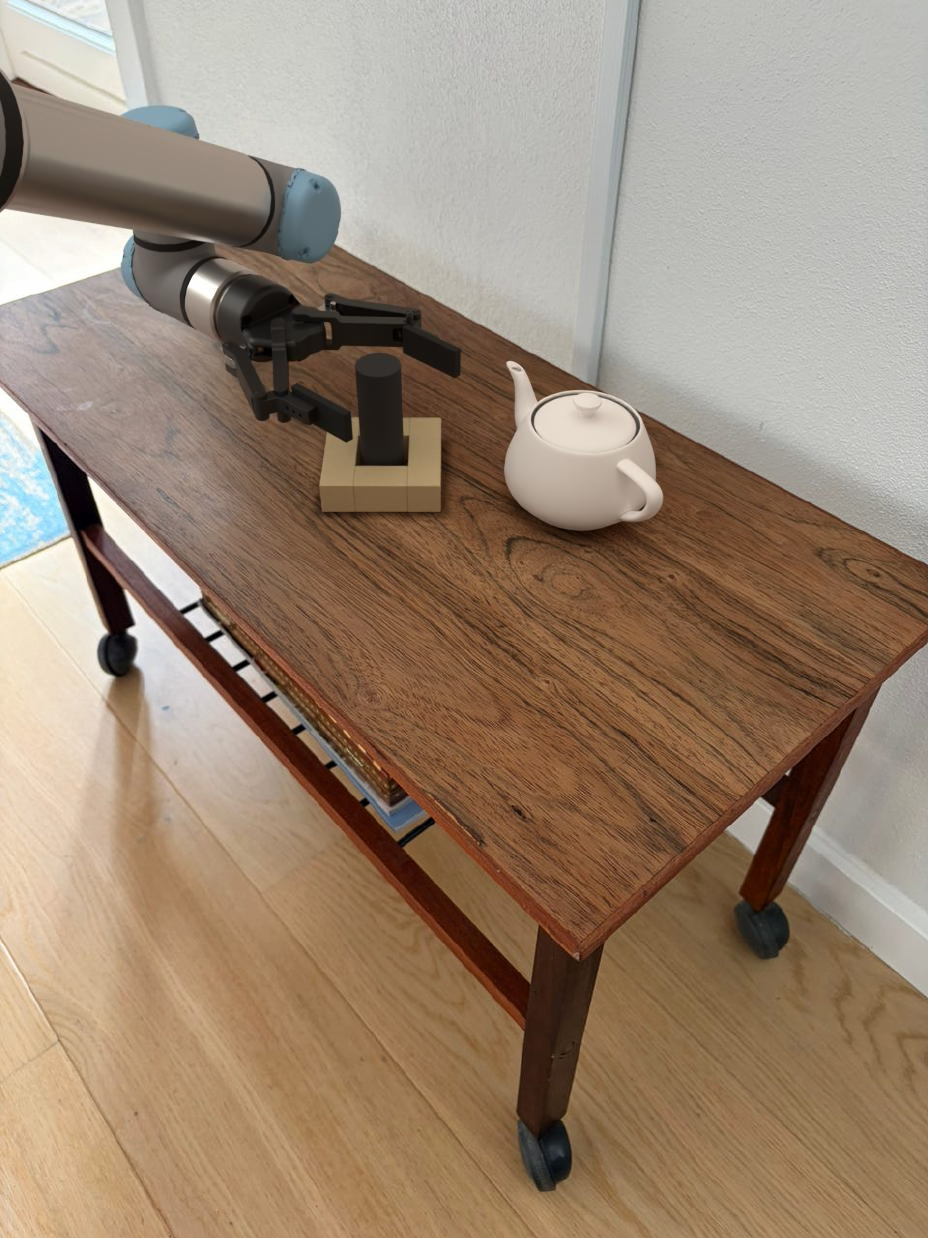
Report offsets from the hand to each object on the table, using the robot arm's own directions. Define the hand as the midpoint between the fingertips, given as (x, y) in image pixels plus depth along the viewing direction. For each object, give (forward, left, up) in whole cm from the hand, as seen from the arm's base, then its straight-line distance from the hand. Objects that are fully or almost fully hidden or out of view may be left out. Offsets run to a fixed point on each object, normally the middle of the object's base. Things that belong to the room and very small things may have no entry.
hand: (406, 394), depth 88 cm
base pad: (-2, +2, -10) cm, 11 cm away
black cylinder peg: (-2, +2, -10) cm, 11 cm away
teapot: (+15, 0, -11) cm, 19 cm away
